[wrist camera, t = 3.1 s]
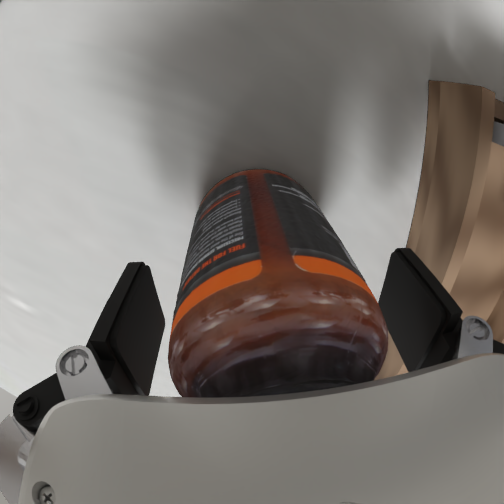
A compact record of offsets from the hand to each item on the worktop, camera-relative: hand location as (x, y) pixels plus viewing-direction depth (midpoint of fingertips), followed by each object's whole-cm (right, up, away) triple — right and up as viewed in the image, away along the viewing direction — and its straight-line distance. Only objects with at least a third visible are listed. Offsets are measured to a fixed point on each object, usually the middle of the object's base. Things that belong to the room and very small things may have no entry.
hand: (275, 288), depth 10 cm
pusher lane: (+16, -1, +7) cm, 17 cm away
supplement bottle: (-1, +3, +4) cm, 5 cm away
